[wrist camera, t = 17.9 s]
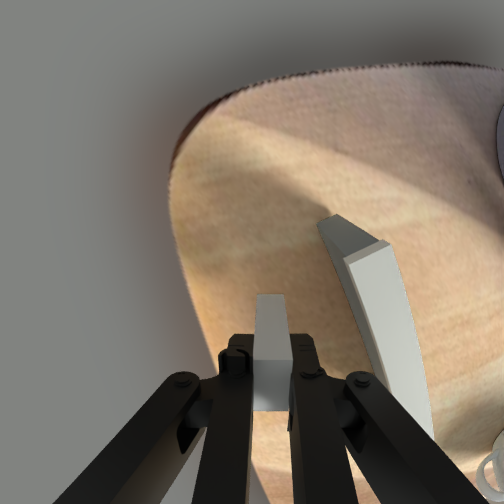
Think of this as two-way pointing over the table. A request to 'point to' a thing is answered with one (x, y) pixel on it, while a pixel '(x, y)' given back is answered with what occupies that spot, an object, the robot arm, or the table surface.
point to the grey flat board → (380, 312)
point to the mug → (500, 457)
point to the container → (501, 140)
